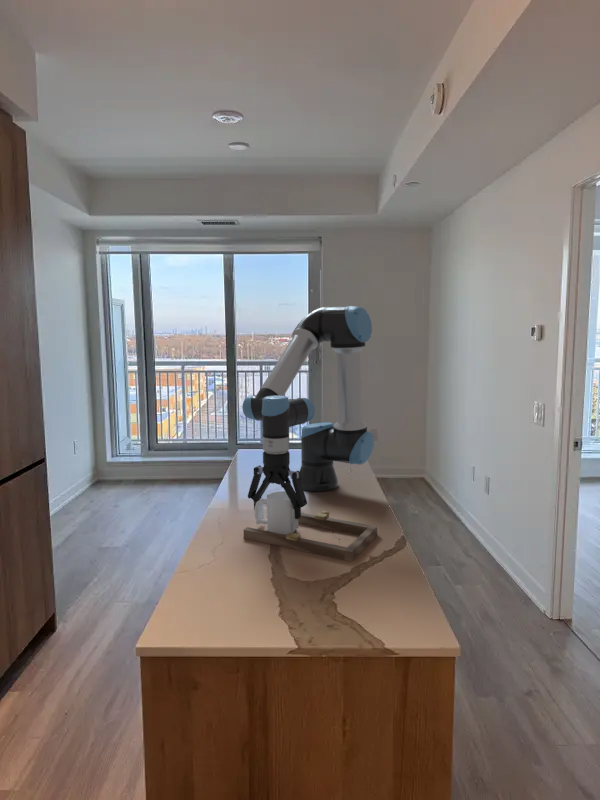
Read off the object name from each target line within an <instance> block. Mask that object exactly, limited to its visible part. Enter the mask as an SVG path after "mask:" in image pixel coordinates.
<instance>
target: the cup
mask: <svg viewBox="0 0 600 800" xmlns="http://www.w3.org/2000/svg"><path fill="white" fill-rule="evenodd" d="M260 504H263V505H266V519H264V518H263V519H261V518H260V517H259V515H258V508H259V505H260ZM293 507H294V506H293V504H292V503H291V501H290V499H289V497H288V495H287V493H286V492H285V490H283V491H273V492H269V493H268V494H267V495H266V499H265V498H261V499H260V500H259V501H257V503H256V505H255V510H254V509H253V510H254V511H253V512H254V518H255V520H257V521H258V522H259V523H260V524H261V525H267V531H269V532H274V533H279V534H284V535H288V534H289V533H295V531H292V525H291V508H293Z"/></svg>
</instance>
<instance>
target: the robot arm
mask: <svg viewBox="0 0 600 800" xmlns="http://www.w3.org/2000/svg"><path fill="white" fill-rule="evenodd" d="M372 332H373V325H372V319H371V317H370V314H369V313H368V311H367V310H366V309H365V308H364V307H362V306H358V305H357V306H356V305H355V306H354V305H347V306H346V305H343V306H321V307H318V308H316V309H314V310H312V311H311V312H309V313H308V314H307V315H306V316H305V317H303V318H302V319H301V320H300V321H299V322H298V324H297V325H296V327H295V328H294V330H293V331H292V333H291V340H290V341H289V343H288V345H287V346H286V347H285V349H284V351H283V352H282V353H281V355H280V357H279V359H278V361H277V362H276V363H275V365H274V367H273V368H272V369H271V371H270V373H269V375H268V376H267V378H266V379H265V380H264V382H263V384H262V386H261V387H260V388H259V391H257V394H251V395H248V396H247V397H245V398H244V399H243V403H242V407H241V408H242V412H243V415H244V416H245V418H247V419H249V420H254V421H258V422H259V421H261V422H262V424H261V425H262V450H263V452H262V464H263V466H261V465H257V466H256V467H255V466H254V467H253V477H252V480H251V483H250V487H249V490H248V494H247V498H248V499H251V500H252V501H253V510H255V505H256V503H257V501H259V500H261V499H263V498H262V497H263V495H264V494H265V492H266V490H267V489H268V487H269V486H270V484H276V485H278V486H279V485H280V486H281V488H283V491H285V492H286V493H287V495H288V497H289V499H290V501H291V503H292V504H293V506H294V507H293V508H291V525H292V531H294V532H295V531H296V530H297V529H299V523H298V519H299V518H300V517H301V513H302V508H304V507H305V506H306V505H308V501H307V497H306V493H305V491H306V492H328V491H332V490H334V489H337V488H338V485H339V479H338V476H337V473H336V470H335V467H334V462H340V463H345V464H350V465H357V466H358V465H360V466H361V465H363V464H366V462H368V461H369V459H370V457H371V455H372V453H373V450H374V445H375V438H374V435H373V433H372V432H371V431H368V425H367V423H366V422H364V421H363V391H362V390H363V388H362V387H363V386H362V350H363V349H364V348H365V347H366V343H367V342H369V340H370V339H371V336H372ZM323 342H330V349H331V350H333V352H334V353H335V355H334V356H335V379H336V380H335V382H336V386H335V387H336V413H337V421H336V422H335V423H333V422H331V421H330V422H328V421H327V422H317V423H315V422H314V423H309V424H306V423H308V422H310V421H311V420H312V419H313V418H314V416H315V406H314V404H313V402H312V400H310V399H309V398H306V397H296V398H289V396H285V395H286V393H287V391H288V389H290V386H291V385H292V383H293V381H294V380H295V378H296V377H297V375H298V373H299V372H300V369H302V366H303V364H304V363H305V361H306V360H307V359H308V357H309V355H310V353H311V352H312V351H313V350H316V349H317V348H318V346H319V344H320V343H323ZM304 424H306V425H304ZM298 425H304V426H303V427H302V429H301V436H300V441H301V442H300V443H301V449H300V450H301V466H300V469H299V470H295V471H293V470H291V469H290V464H291V463H290V462H291V461H290V454H291V453H290V452H289V450H290V428H291V427H294V426H298ZM262 474H263V475H264V476H265V477H264V478H263V480H262V483H261V484H260V481H261V478H262ZM289 476H290V478H289ZM290 479H291V480H290ZM291 482H292V483H291ZM259 485H260V486H259ZM258 515H259V517H260V518H261V519H264V504H260V505H259V508H258ZM255 520H256V519H255ZM256 524H257V525H260V524H261V523H259V522H258V521H257V520H256Z"/></svg>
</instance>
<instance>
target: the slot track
mask: <svg viewBox="0 0 600 800" xmlns="http://www.w3.org/2000/svg"><path fill="white" fill-rule="evenodd" d="M298 524H302V525H308V526H312V527H316V528H317V527H318V528H323V529H329V530H333V531H339V532H344V533H349V534H354V535H358V537H357V538H355V540H354V541H353V542H352V543H351V544H350V545H348V546H342V545H336V544H333V543H327V542H321V541H317V540H313V539H308V538H303V537H301V534H300V533H299V534H298V533H295V532H293V533H289V534H287V535H284V534H279V533H274V532H269V531H268V530H264V529H263V530H262V529H259V528H253V527H248V526H247V527H245V528H243V539H246V540H250V541H254V542H259V543H264V544H269V545H273V546H277V547H283V548H288V549H292V550H297V551H302V552H307V553H311V554H315V555H321V556H325V557H329V558H334V559H339V560H343V561H347V562H354V560H355V559H356V558H357V557H358V556H359V555H360V554H361V553H362V552H363V551H364V549H366V547H368V546H369V544H370V543H371V542H373V540H374V539H375V538H376V537H377V536H378V526H377V525H371V524H365V523H360V522H355V521H350V520H344V519H343V520H342V519H337V518H332V517H330V511H328V510H322V511H320V512H316V514H310V513H304V512H301V517H300V518H299V519H298Z"/></svg>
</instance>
